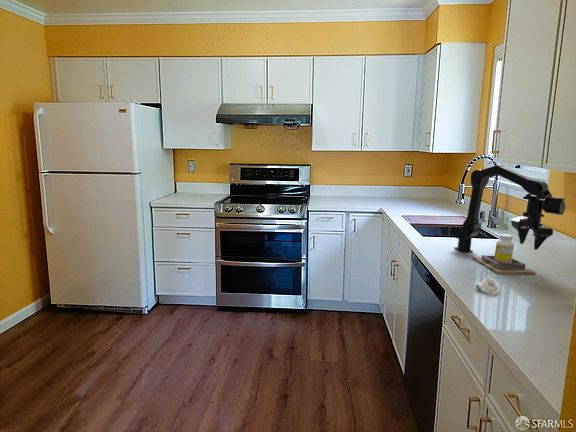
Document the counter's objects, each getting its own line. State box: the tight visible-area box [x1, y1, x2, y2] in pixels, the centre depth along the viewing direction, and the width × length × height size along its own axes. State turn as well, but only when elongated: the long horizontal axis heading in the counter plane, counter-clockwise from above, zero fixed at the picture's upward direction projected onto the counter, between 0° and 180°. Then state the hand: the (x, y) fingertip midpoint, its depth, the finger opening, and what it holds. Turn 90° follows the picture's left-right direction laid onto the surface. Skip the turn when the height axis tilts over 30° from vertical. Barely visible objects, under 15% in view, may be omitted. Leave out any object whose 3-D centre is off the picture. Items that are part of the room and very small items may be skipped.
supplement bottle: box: [494, 233, 515, 264], centre depth 170 cm, size 7×7×13 cm
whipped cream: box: [475, 277, 500, 295], centre depth 142 cm, size 8×7×5 cm
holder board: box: [472, 254, 537, 276], centre depth 171 cm, size 20×16×3 cm
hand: (528, 246), depth 170 cm, fingers open, 9 cm apart
